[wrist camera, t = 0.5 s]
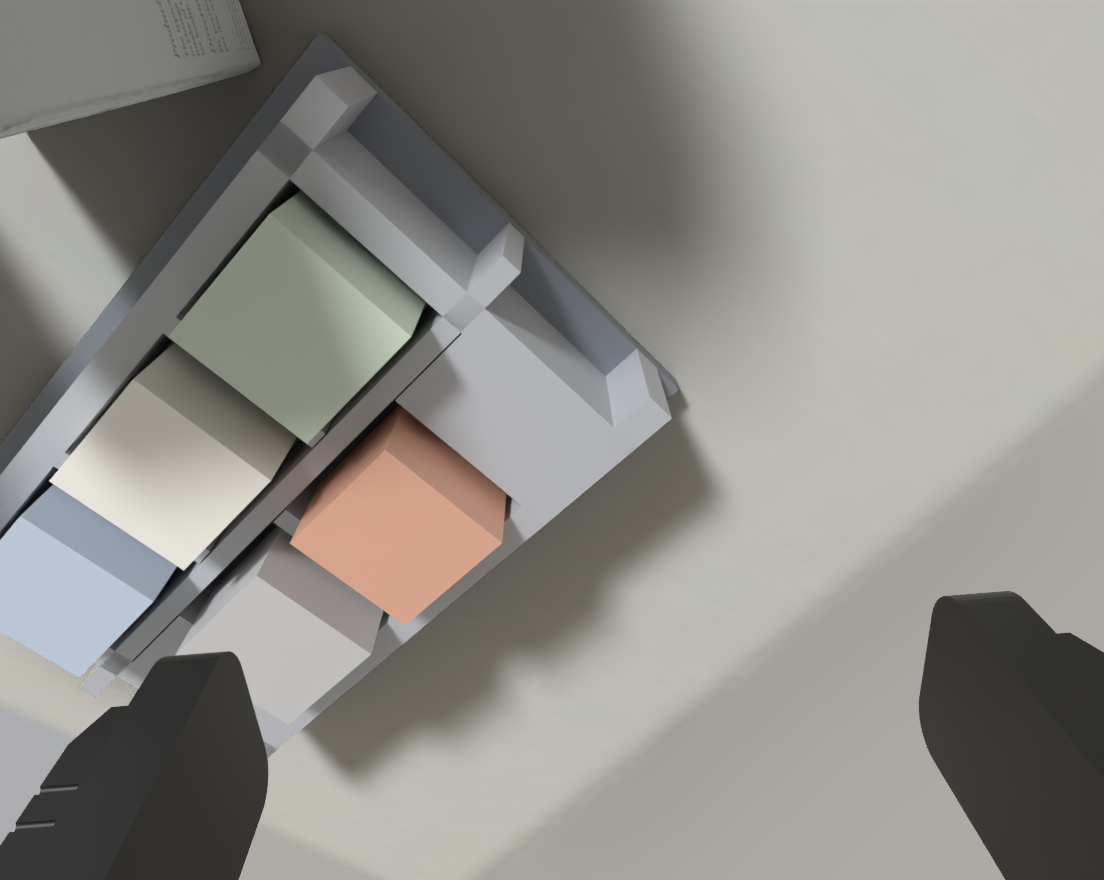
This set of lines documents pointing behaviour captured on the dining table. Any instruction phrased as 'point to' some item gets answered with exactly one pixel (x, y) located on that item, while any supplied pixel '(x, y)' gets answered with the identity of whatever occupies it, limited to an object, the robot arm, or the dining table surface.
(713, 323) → the dining table surface
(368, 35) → the dining table surface
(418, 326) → the keypad board
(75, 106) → the supplement box
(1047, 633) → the robot arm
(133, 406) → the key ivory
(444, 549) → the key terracotta
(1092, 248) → the dining table surface
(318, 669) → the key grey
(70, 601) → the key blue
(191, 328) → the key sage
